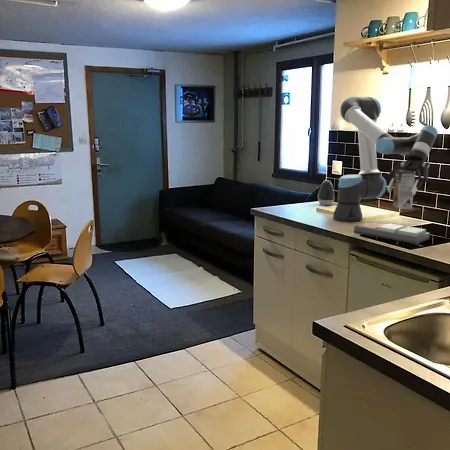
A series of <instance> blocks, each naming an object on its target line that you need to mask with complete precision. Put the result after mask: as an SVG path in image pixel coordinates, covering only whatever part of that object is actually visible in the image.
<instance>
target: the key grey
mask: <svg viewBox="0 0 450 450" xmlns="http://www.w3.org/2000/svg"><path fill="white" fill-rule="evenodd" d="M403 228H406V226H405V225H401V224H394V223H385V224H381V226H378V229H377V230H380V231H386V232H392V233H396V232H398V230H400V229H403Z"/></svg>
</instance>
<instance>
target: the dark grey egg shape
mask: <svg viewBox="0 0 450 450" xmlns="http://www.w3.org/2000/svg"><path fill="white" fill-rule="evenodd" d="M317 200H318V203H319V204H320V205H322V206H331V205H332V204H333V202H334V201H335V191H334V187H333V184H332V182H331V180H328V179H325V180H323V182H322V183H321V185H320V187H319V189H318V193H317Z"/></svg>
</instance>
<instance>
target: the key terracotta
mask: <svg viewBox="0 0 450 450" xmlns="http://www.w3.org/2000/svg"><path fill="white" fill-rule="evenodd" d="M365 223H366V224H364V223H362V224H363V225H361V224H358V225H359V226H358V227H363V228H369V229H378V226H381V225H382V223H380V224H379V223H374V222H369V223H368V222H365Z"/></svg>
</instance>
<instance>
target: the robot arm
mask: <svg viewBox="0 0 450 450" xmlns="http://www.w3.org/2000/svg"><path fill="white" fill-rule="evenodd" d="M338 112H339V115H340V117H341V118H342V120H344V122H346V123H348V124H352V125H353V127H355V128H356V129H357V135H358V137H357V138H358V149H359V150H358V151H359V162H360V163H359V165H360V171H359V173H358V174H355V173H354V174H345V175H342V176H341V177H339V179H338V185H337V186H338V189H337V205H336V206H335V209H334V212H333V214H332V219H333V220H334V221H338V222H347V223H357V222H362V221H363V217H364V216H363V213H362V208H361V200H365V199H366V200H367V199H368V200H369V199H372V200H373V199H378V198H381V197H382V196H383V195H384V194H385V192H386V190H387V192H388V193H389V194H392V193H391V192H392V191H393V190H394V177H395V170H409V171H412V172H415V173H416V175H417V179H415V182H414V186H413V188H412V190H411V192H412V194H413V196H416V193H417V191H418V189H420V188H421V186H422V184H424V183H426V184H427V183H428V182H429V181H428V180H429V169H430V168H431V165H430V164H429V161H427V162H426V160H427V158H428V156H429V153H430V152H431V149H432V147H433V146H434V143H436V142H435V141H436V140H437V136H438V133H439V132H438V130H437V129H436V127H434V126H432V125H425V126H423V127H422V128H421V129H420V131H419V133H416V134H414V135H411V136H409V137H394V136H392V135H391V134H389V133H388V132H387V131H386V130H385V129H383V128H382V127H381V126H380V125H378V124H377V122H378V118H379V117H380V115H381V112H382V106H381V103H380V101H379V100H378V99H377V98H374V97H370V96H354V95H353V96H351V95H350V96H348V97H345V98H344V99H343V100H342V101H341V103H340V104H339V109H338ZM377 153H379V154H380V155H381V154H382V155H393V154H394V155H395V154H396V155H397V154H399V155H401V156H407V158H406V161H403V162H402V161H401V160H399V161H398V162H397V164H396V165H395V167H394V168H393V169H392V170H391V171H390V172H389V173H388V174H387V179H388V180H389V181H388V186H387V180H386V179H385V178H384V177H383V176H382V172H381V171H380V170H379V169H378V159H377ZM421 168H423V177H422V174H421V170H420V169H421Z"/></svg>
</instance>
